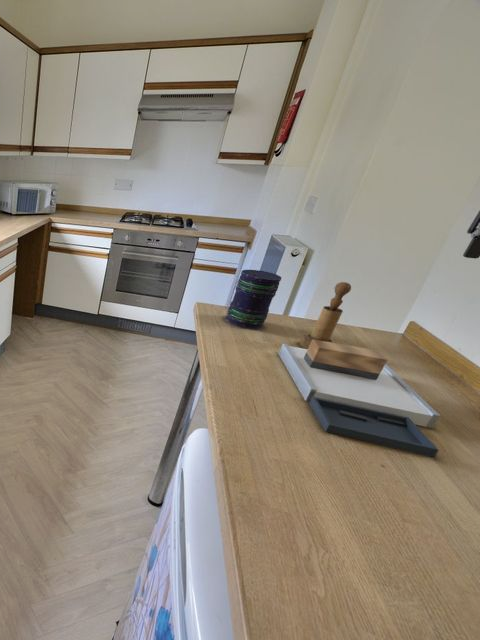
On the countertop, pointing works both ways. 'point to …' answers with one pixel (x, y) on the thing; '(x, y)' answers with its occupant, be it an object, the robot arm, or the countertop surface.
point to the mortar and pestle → (327, 317)
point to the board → (358, 389)
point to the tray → (372, 427)
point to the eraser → (345, 359)
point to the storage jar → (252, 299)
